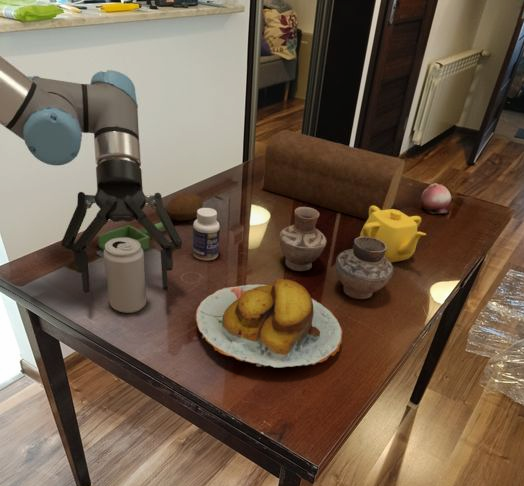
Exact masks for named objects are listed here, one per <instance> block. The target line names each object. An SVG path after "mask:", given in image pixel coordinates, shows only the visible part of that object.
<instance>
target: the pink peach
mask: <svg viewBox="0 0 524 486" xmlns="http://www.w3.org/2000/svg"><path fill="white" fill-rule="evenodd" d="M451 201H452V195H451V193H450V191H449V190H448V188H447V187H446V186H445V185H444V184H439V183H436V182H433V183H431V184H429V185H428V187H426V188H425V189H424V190H423V192H422V194H421V198H420V204H421V207H422V208H423V209H424V211H425V212H427V213H429V214H432V215H435V214H436V215H437V214H447V213H448V208H447V207H448V206H449V205H450V204H451Z"/></svg>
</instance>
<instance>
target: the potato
mask: <svg viewBox="0 0 524 486" xmlns="http://www.w3.org/2000/svg"><path fill="white" fill-rule="evenodd" d="M200 208H204V202H203V200H202V198H201V197H200V196H199V195H198V194H196V193H189V192H180V193H178V194H176V195H175V196H173V197H172V198H171V199H170V200H169V202H168V203H167V207H166V212H167V214H168V216H169V218H170V220H174V221H177V222H183V221H184V222H185V221H186V222H187V221H191V220H195V219H197V210H198V209H200Z"/></svg>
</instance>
